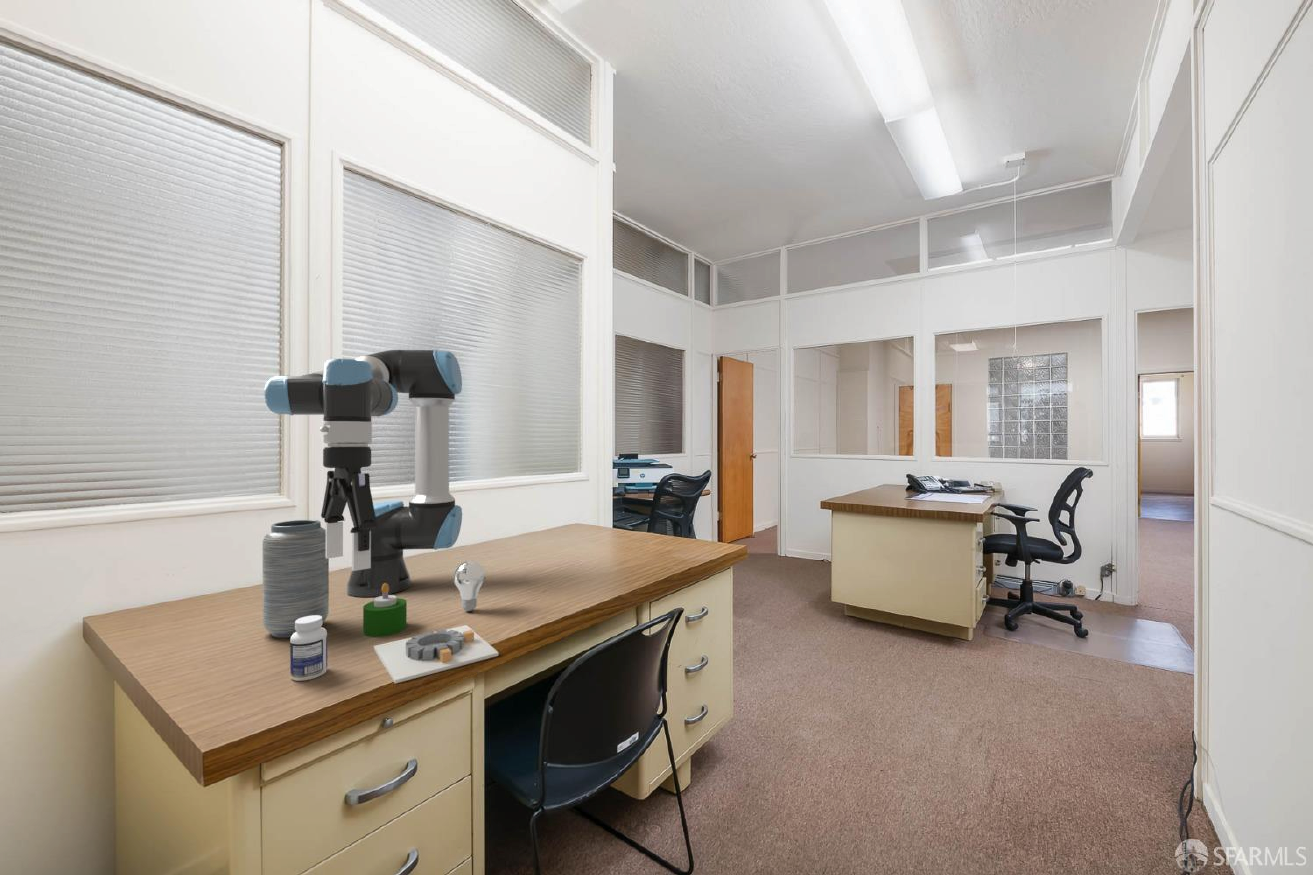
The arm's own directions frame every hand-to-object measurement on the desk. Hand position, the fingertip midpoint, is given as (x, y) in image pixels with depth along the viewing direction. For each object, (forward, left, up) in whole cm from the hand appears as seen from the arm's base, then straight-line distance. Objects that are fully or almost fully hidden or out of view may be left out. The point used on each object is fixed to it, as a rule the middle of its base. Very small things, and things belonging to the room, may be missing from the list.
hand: (347, 563), depth 94 cm
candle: (-16, +9, -19) cm, 26 cm away
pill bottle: (-1, -6, -19) cm, 20 cm away
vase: (-27, -6, -19) cm, 33 cm away
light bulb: (-16, +27, -19) cm, 37 cm away
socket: (+3, +14, -19) cm, 24 cm away
